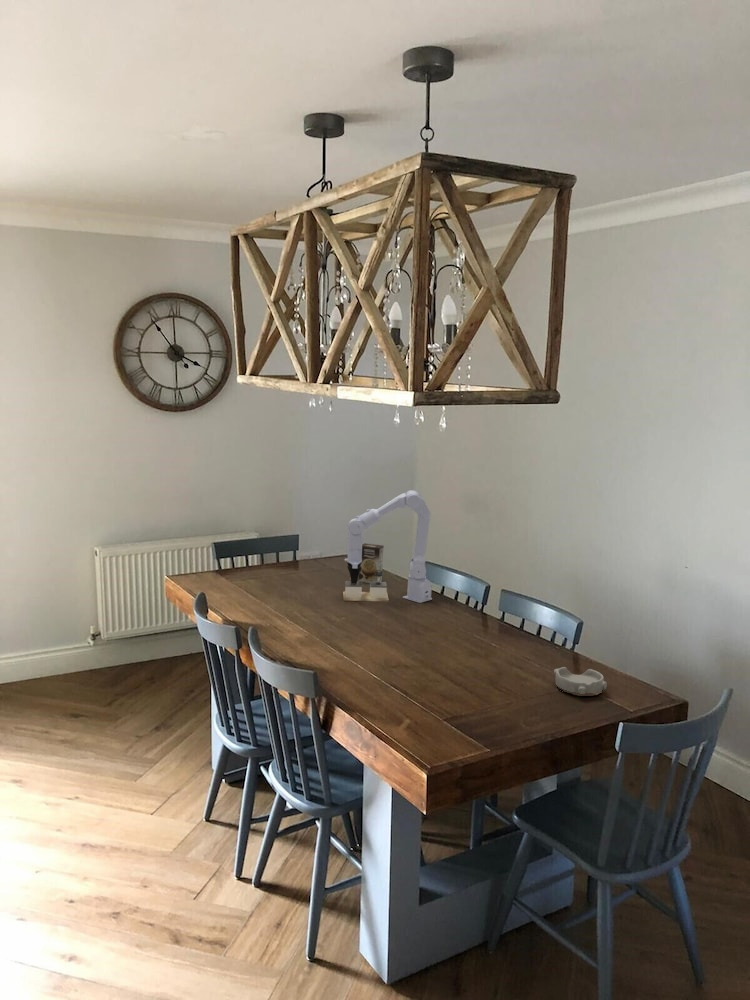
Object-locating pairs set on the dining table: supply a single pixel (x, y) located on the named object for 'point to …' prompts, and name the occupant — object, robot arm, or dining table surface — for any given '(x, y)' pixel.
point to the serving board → (364, 598)
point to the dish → (580, 681)
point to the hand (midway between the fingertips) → (353, 581)
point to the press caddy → (375, 589)
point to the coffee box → (371, 562)
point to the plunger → (378, 573)
